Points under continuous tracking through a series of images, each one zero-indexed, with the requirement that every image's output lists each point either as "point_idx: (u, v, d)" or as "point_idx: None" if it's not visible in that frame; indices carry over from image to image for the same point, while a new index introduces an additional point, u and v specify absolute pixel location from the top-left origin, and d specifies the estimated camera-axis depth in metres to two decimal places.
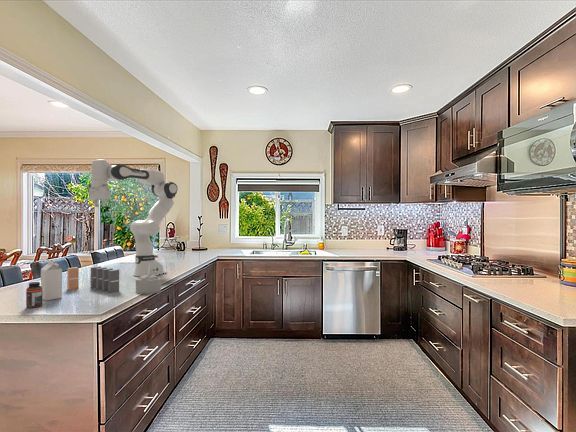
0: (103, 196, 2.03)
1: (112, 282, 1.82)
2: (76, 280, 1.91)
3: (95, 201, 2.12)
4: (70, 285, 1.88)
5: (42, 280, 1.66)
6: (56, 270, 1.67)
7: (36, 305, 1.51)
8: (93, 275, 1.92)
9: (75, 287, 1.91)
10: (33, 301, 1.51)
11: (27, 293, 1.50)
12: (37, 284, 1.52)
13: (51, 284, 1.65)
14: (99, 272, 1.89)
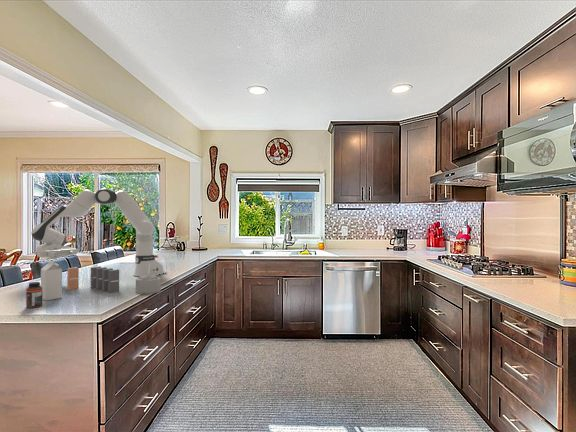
0: (43, 257, 1.94)
1: (112, 282, 1.82)
2: (76, 280, 1.91)
3: None
4: (70, 285, 1.88)
5: (42, 280, 1.66)
6: (56, 270, 1.67)
7: (36, 305, 1.51)
8: (93, 275, 1.92)
9: (75, 287, 1.91)
10: (33, 301, 1.51)
11: (27, 293, 1.50)
12: (37, 284, 1.52)
13: (51, 284, 1.65)
14: (99, 272, 1.89)
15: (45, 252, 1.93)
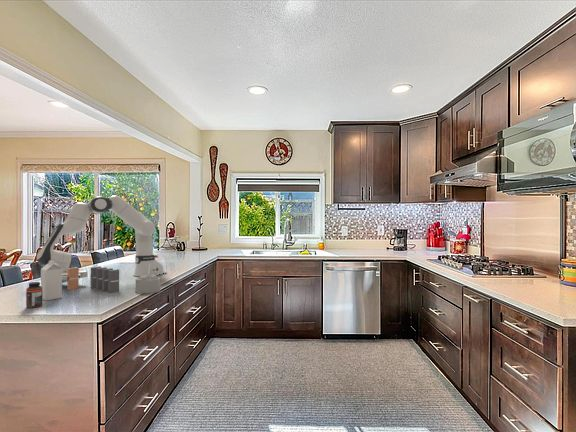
0: None
1: (112, 282, 1.82)
2: (76, 280, 1.91)
3: None
4: (70, 285, 1.88)
5: (42, 280, 1.66)
6: (56, 270, 1.67)
7: (36, 305, 1.51)
8: (93, 275, 1.92)
9: (75, 287, 1.91)
10: (33, 301, 1.51)
11: (27, 293, 1.50)
12: (37, 284, 1.52)
13: (51, 284, 1.65)
14: (99, 272, 1.89)
15: None
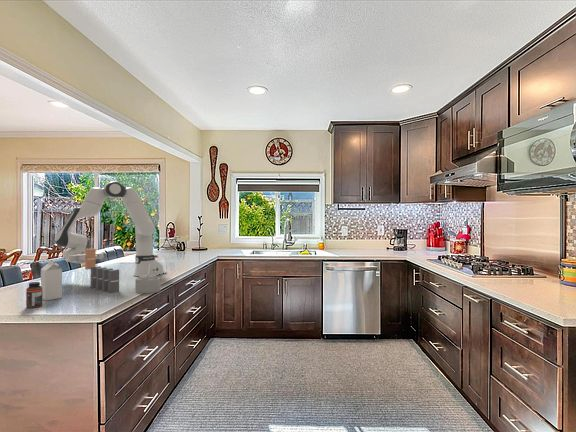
0: (71, 261, 1.94)
1: (112, 282, 1.82)
2: (94, 261, 1.99)
3: None
4: (88, 265, 1.96)
5: (42, 280, 1.66)
6: (56, 270, 1.67)
7: (36, 305, 1.51)
8: (93, 275, 1.92)
9: None
10: (33, 301, 1.51)
11: (27, 293, 1.50)
12: (37, 284, 1.52)
13: (51, 284, 1.65)
14: (99, 272, 1.89)
15: (73, 257, 1.94)
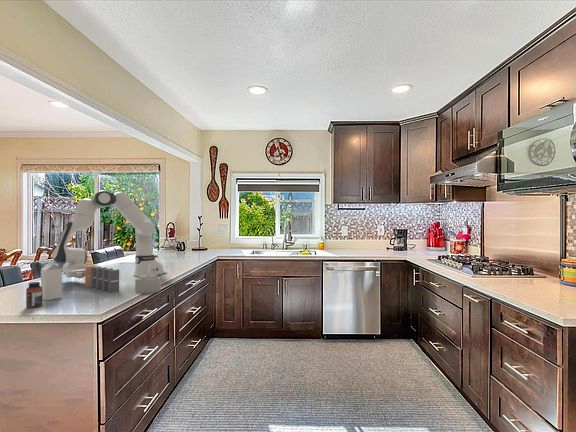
0: None
1: (112, 282, 1.82)
2: None
3: None
4: (88, 282, 1.96)
5: (42, 280, 1.66)
6: (56, 270, 1.67)
7: (36, 305, 1.51)
8: (93, 275, 1.92)
9: None
10: (33, 301, 1.51)
11: (27, 293, 1.50)
12: (37, 284, 1.52)
13: (51, 284, 1.65)
14: (99, 272, 1.89)
15: (73, 272, 1.94)
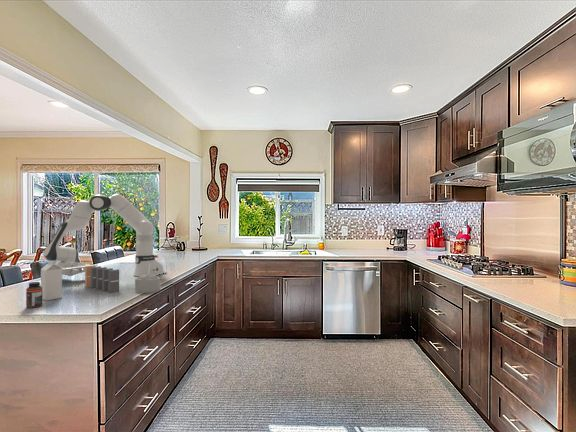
0: None
1: (112, 282, 1.82)
2: None
3: None
4: (88, 282, 1.96)
5: (42, 280, 1.66)
6: (56, 270, 1.67)
7: (36, 305, 1.51)
8: (93, 275, 1.92)
9: None
10: (33, 301, 1.51)
11: (27, 293, 1.50)
12: (37, 284, 1.52)
13: (51, 284, 1.65)
14: (99, 272, 1.89)
15: (63, 270, 2.01)
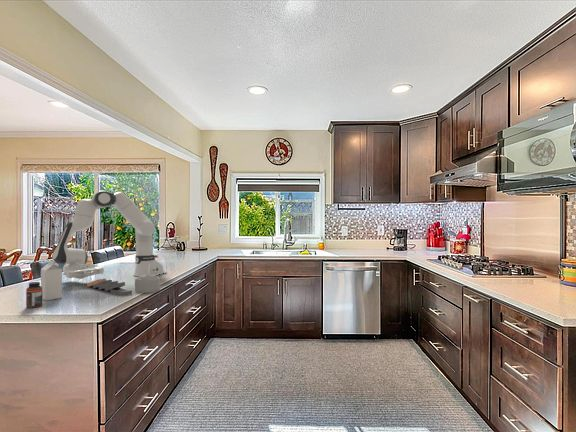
0: (72, 277, 1.94)
1: None
2: None
3: None
4: (90, 286, 1.94)
5: (42, 280, 1.66)
6: (56, 270, 1.67)
7: (36, 305, 1.51)
8: (100, 285, 1.88)
9: None
10: (33, 301, 1.51)
11: (27, 293, 1.50)
12: (37, 284, 1.52)
13: (51, 284, 1.65)
14: None
15: (74, 273, 1.94)
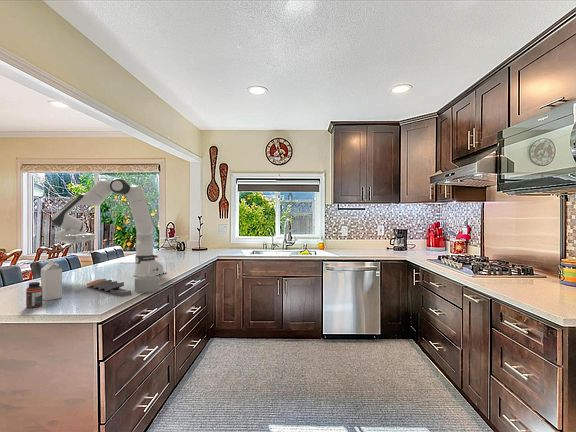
0: (63, 241, 2.04)
1: None
2: None
3: None
4: (90, 286, 1.94)
5: (42, 280, 1.66)
6: (56, 270, 1.67)
7: (36, 305, 1.51)
8: (100, 285, 1.88)
9: None
10: (33, 301, 1.51)
11: (27, 293, 1.50)
12: (37, 284, 1.52)
13: (51, 284, 1.65)
14: None
15: (65, 236, 2.04)
